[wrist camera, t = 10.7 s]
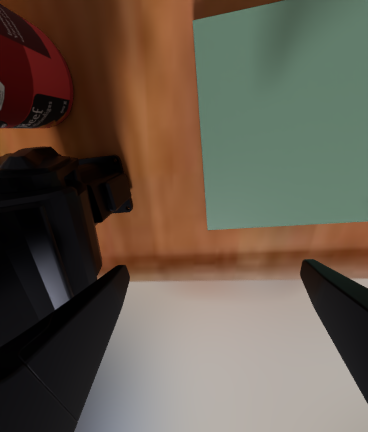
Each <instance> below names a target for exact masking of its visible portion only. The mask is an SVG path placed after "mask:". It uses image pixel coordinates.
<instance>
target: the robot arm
mask: <svg viewBox="0 0 368 432" xmlns="http://www.w3.org/2000/svg"><path fill="white" fill-rule="evenodd" d="M114 158H115V159H116V160H117V162H115V161H114ZM130 197H131V192H130V188H129V184H128V180H127V176H126V175H125V174H124V171H123V168H122V164H121V160H120V158H119V156H117V155H111V156H103V157H95V158H86V159H78V158H70V157H67V156H61V155H60V154H58V153H57V152H56V151H55V150H54V149H53V148H52V147H33V148H25V149H20V150H18V151H17V152H15V153H10V154H5V155H4V156H2V157H0V432H74V431H75V428H76V425H77V423H78V422H77V421H78V420H79V417H80V415H81V412H82V410H83V407H84V405H85V402H86V399H87V397H88V394H89V392H90V389H91V386H92V383H93V381H94V379H95V376H96V374H97V371H98V368H99V366H100V363H101V361H102V358H103V355H104V353H105V350H106V347H107V345H108V342H109V340H110V337H111V335H112V332H113V330H114V327H115V324H116V322H117V319H118V317H119V314H120V311H121V308H122V306H123V302H124V299H125V295H126V291H127V288H128V284H129V280H130V276H129V273H128V270H127V267H126V265H117V266H116V267H114V268H113V269H112V270H110V271H109V272H107V273H106V274H105V275H103V276H102V277H101V278H99V279H98V280H97V275H98V273H99V271H100V269H101V267H102V257H101V252H100V247H99V243H98V238H97V233H96V228H95V225H97V224H98V223H101V222H103V221H104V220H105V219H106V218H107V217H108V216H109V215H110V214H112V213H123V212H130V211H131V210H132V209H133V206H132V202H131V198H130ZM127 206H128V207H129V208H130V209H128V208H127ZM300 276H301V279H302V281H303V283H304V286H305V288H306V290H307V293H308V295H309V297H310V299H311V302H312V304H313V306H314V308H315V310H316V312H317V314H318V316H319V317H320V319H321V321H322V323H323V325H324V326H325V328H326V330H327V332H328V334H329V336H330V337H331V339H332V341H333V343H334V344H335V346H336V348H337V350H338V352H339V353H340V355H341V357H342V359H343V361H344V362H345V364H346V366H347V368H348V369H349V371H350V373H351V375H352V376H353V378H354V380H355V382H356V384H357V386H358V387H359V389H360V391H361V393H362V394H363V396H364V398H365V400H366V402H367V403H368V288H366V287H364V286H362V285H360V284H358V283H356V282H355V281H353V280H351V279H349V278H347V277H345V276H344V275H342V274H340V273H338V272H336V271H334V270H332V269H331V268H329V267H327V266H325V265H323V264H321V263H320V262H318V261H316V260H314V259H305V260H303V262H302V266H301V271H300Z"/></svg>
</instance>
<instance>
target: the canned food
mask: <svg viewBox="0 0 368 432" xmlns="http://www.w3.org/2000/svg"><path fill="white" fill-rule="evenodd" d="M72 103H73V84H72V79H71V75H70V71H69V69H68V67H67V64H66V62H65V60H64V58H63V57H62V55H61V53H60V52H59V50H58V49H57V48H56V46H55V45H54V44H53V43H52V42H51V40H50V39H49V38H48V37H47V36H46V35H45V34H44V33H43V32H42V31H41V30H40V29H38V28H37V27H36V26H34V25H33V24H31V23H30V22H28V21H26V20H25V19H23V18H22V17H20V16H18V15H17V14H15V13H14V12H12V11H10V10H9V9H7V8H6V7H4V6H3V5H1V4H0V128H50V127H52V126H55V125H57V124H59V123H61V122H62V121H63V120H64V119H65V118H66V117H67V116H68V114H69V112H70V110H71V107H72Z"/></svg>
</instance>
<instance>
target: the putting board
mask: <svg viewBox="0 0 368 432" xmlns="http://www.w3.org/2000/svg"><path fill="white" fill-rule="evenodd" d="M193 31H194V45H195V59H196V73H197V87H198V101H199V115H200V129H201V143H202V157H203V171H204V185H205V199H206V213H207V227H208V230H217V229H236V228H254V227H272V226H291V225H309V224H327V223H346V222H364V221H368V0H284V1H280V2H275V3H270V4H266V5H261V6H257V7H252V8H248V9H243V10H239V11H234V12H230V13H225V14H220V15H216V16H211V17H207V18H202V19H198V20H193Z"/></svg>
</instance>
